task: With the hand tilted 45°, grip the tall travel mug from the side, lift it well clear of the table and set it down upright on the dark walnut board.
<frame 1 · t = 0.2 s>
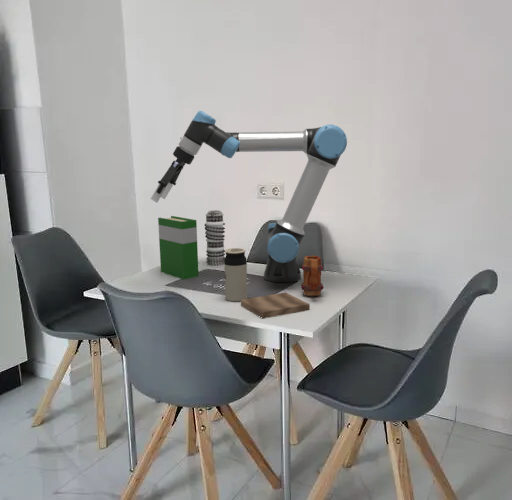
hand: (157, 199, 204), 35 cm above the table, tool tilted 35°, fingers open, 13 cm apart
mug: (312, 297, 196), on the table
walnut board: (274, 307, 185), on the table
decorative candle: (216, 265, 247), on the table
hardback book: (179, 274, 232), on the table
travel mug: (236, 299, 196), on the table
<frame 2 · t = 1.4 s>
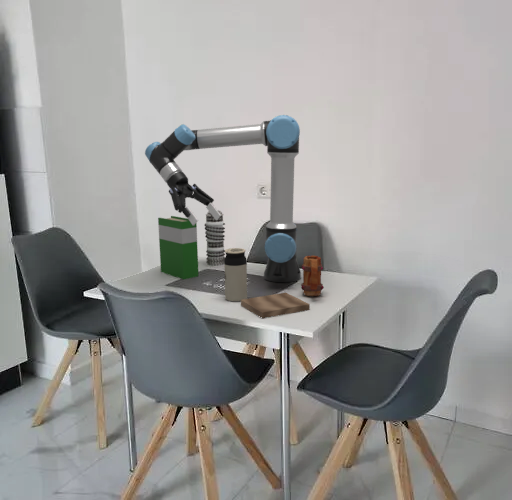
hand: (207, 220, 197), 28 cm above the table, tool tilted 45°, fingers open, 13 cm apart
nothing on the table moved.
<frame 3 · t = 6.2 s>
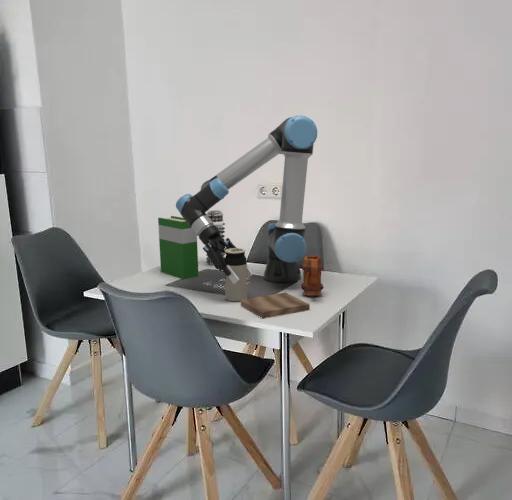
hand: (243, 278, 192), 8 cm above the table, tool tilted 45°, fingers closed on travel mug, 8 cm apart
travel mug: (236, 299, 196), on the table, touching gripper
everything else where it was.
when the fingers open (11 cm above the table, at t = 12.4 s): travel mug drops 1 cm, resting on walnut board.
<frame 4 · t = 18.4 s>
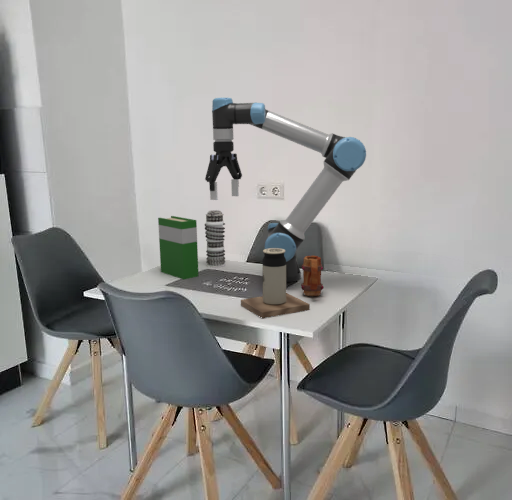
hand: (224, 198, 205), 35 cm above the table, tool pointing down, fingers open, 13 cm apart
travel mug: (274, 302, 185), point 2 cm above the table, touching walnut board
everything else where it was.
at the end: travel mug inside the target area on the walnut board (0.1 cm from its centre), point 1.8 cm above the walnut board's base; travel mug tilted 0°; the gripper is holding nothing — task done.
